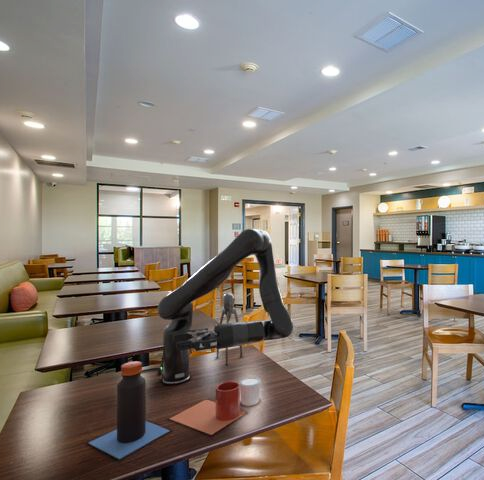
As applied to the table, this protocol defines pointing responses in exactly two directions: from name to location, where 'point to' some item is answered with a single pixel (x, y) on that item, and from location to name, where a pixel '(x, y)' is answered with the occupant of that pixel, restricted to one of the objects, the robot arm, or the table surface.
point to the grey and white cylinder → (250, 391)
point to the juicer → (228, 316)
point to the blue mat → (121, 450)
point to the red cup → (227, 401)
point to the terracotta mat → (203, 417)
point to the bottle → (131, 403)
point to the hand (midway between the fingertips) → (175, 342)
